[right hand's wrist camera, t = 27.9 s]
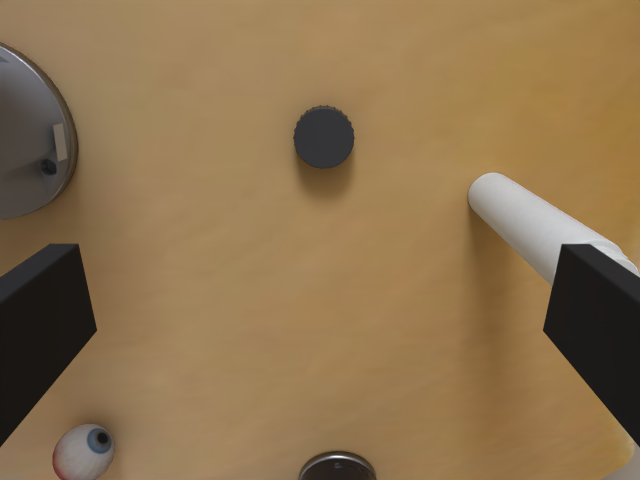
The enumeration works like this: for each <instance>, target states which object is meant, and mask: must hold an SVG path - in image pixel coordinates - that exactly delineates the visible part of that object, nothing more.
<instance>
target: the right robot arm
mask: <svg viewBox="0 0 640 480" xmlns="http://www.w3.org/2000/svg"><path fill="white" fill-rule="evenodd" d="M76 160H77V135H76V130H75V125H74V122H73V118H72V115H71V113H70V110H69V108H68V106H67V104H66V102H65V100H64V98H63V96H62V95H61V93H60V92H59V90H58V89H57V87H56V86H55V84H54V83H53V82H52V81H51V79H50V78H49V77H48V76H47V75H46V74H45V73H44V72H43V71H42V70H41V69H40V68H39V67H38V66H37V65H36V64H35V63H34V62H32V61H31V60H30V59H29V58H27V57H26V56H25V55H23V54H22V53H20V52H19V51H17V50H15V49H14V48H12V47H10V46H8V45H6V44H4V43H1V42H0V220H3V219H10V218H14V217H18V216H22V215H25V214H28V213H31V212H33V211H35V210H38V209H39V208H41V207H43V206H45V205H47V204H48V203H50V202H52V201H53V200H54V199H55V198H57V197H58V196H59V195H60V194H61V193H62V191H63V190H64V189H65V188H66V186H67V184H68V183H69V181H70V179H71V177H72V175H73V172H74V169H75V165H76ZM96 331H97V328H96V323H95V319H94V314H93V309H92V305H91V300H90V296H89V291H88V286H87V282H86V277H85V272H84V268H83V263H82V258H81V254H80V249H79V245H78V244H49V245H48V246H46V247H45V248H43V249H42V250H40V251H39V252H37V253H36V254H34V255H33V256H31V257H30V258H28V259H27V260H25V261H24V262H22V263H21V264H19V265H18V266H17V267H15V268H14V269H12V270H11V271H9V272H8V273H6V274H5V275H3V276H2V277H0V447H1V446H2V445H3V443H4V442H5V441H6V440H7V439H8V437H9V436H10V435H11V434H12V432H13V431H14V430H15V429H16V428H17V426H18V425H19V424H20V423H21V422H22V420H23V419H24V418H25V417H26V416H27V414H28V413H29V412H30V411H31V410H32V408H33V407H34V406H35V405H36V404H37V402H38V401H39V400H40V399H41V398H42V396H43V395H44V394H45V393H46V391H47V390H48V389H49V388H50V387H51V385H52V384H53V383H54V382H55V381H56V379H57V378H58V377H59V376H60V375H61V373H62V372H63V371H64V370H65V369H66V367H67V366H68V365H69V364H70V363H71V361H72V360H73V359H74V358H75V357H76V355H77V354H78V353H79V352H80V350H81V349H82V348H83V347H84V346H85V344H86V343H87V342H88V341H89V340H90V338H91V337H92V336H93V335H94V334H95V332H96ZM543 331H544V332H545V334H546V335H547V336H548V337H549V338H550V340H551V341H552V342H553V343H554V344H555V346H556V347H557V348H558V349H559V350H560V352H561V353H562V354H563V355H564V357H565V358H566V359H567V360H568V361H569V363H570V364H571V365H572V366H573V367H574V369H575V370H576V371H577V372H578V373H579V375H580V376H581V377H582V378H583V379H584V381H585V382H586V383H587V384H588V385H589V387H590V388H591V389H592V390H593V391H594V393H595V394H596V395H597V396H598V398H599V399H600V400H601V401H602V402H603V404H604V405H605V406H606V407H607V408H608V410H609V411H610V412H611V413H612V414H613V416H614V417H615V418H616V419H617V420H618V422H619V423H620V424H621V425H622V426H623V428H624V429H625V430H626V431H627V432H628V434H629V435H630V436H631V437H632V439H633V440H634V441H635V442H636V443H637V445H638V446H639V447H640V277H638V276H637V275H635V274H634V273H632V272H631V271H629V270H628V269H626V268H625V267H623V266H622V265H621V264H619V263H618V262H616V261H615V260H613V259H612V258H610V257H609V256H607V255H606V254H604V253H603V252H601V251H600V250H598V249H597V248H595V247H594V246H592V245H591V244H562V245H561V249H560V254H559V258H558V263H557V268H556V272H555V277H554V282H553V286H552V291H551V296H550V300H549V305H548V309H547V314H546V319H545V323H544V328H543Z"/></svg>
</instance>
